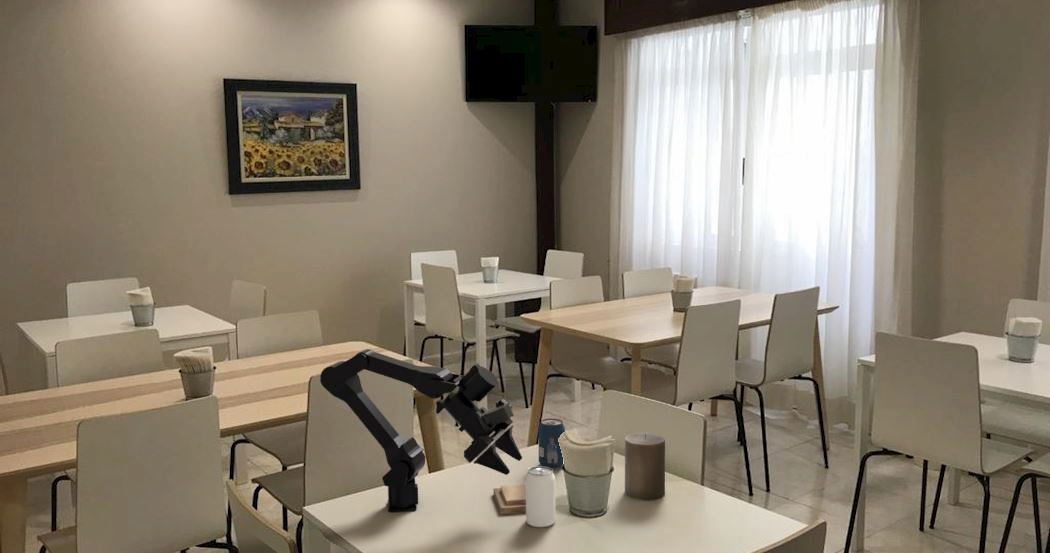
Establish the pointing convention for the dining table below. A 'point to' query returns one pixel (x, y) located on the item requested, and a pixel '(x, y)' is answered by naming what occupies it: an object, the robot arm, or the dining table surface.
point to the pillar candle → (645, 466)
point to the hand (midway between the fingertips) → (514, 466)
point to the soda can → (550, 443)
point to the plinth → (511, 499)
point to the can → (540, 497)
